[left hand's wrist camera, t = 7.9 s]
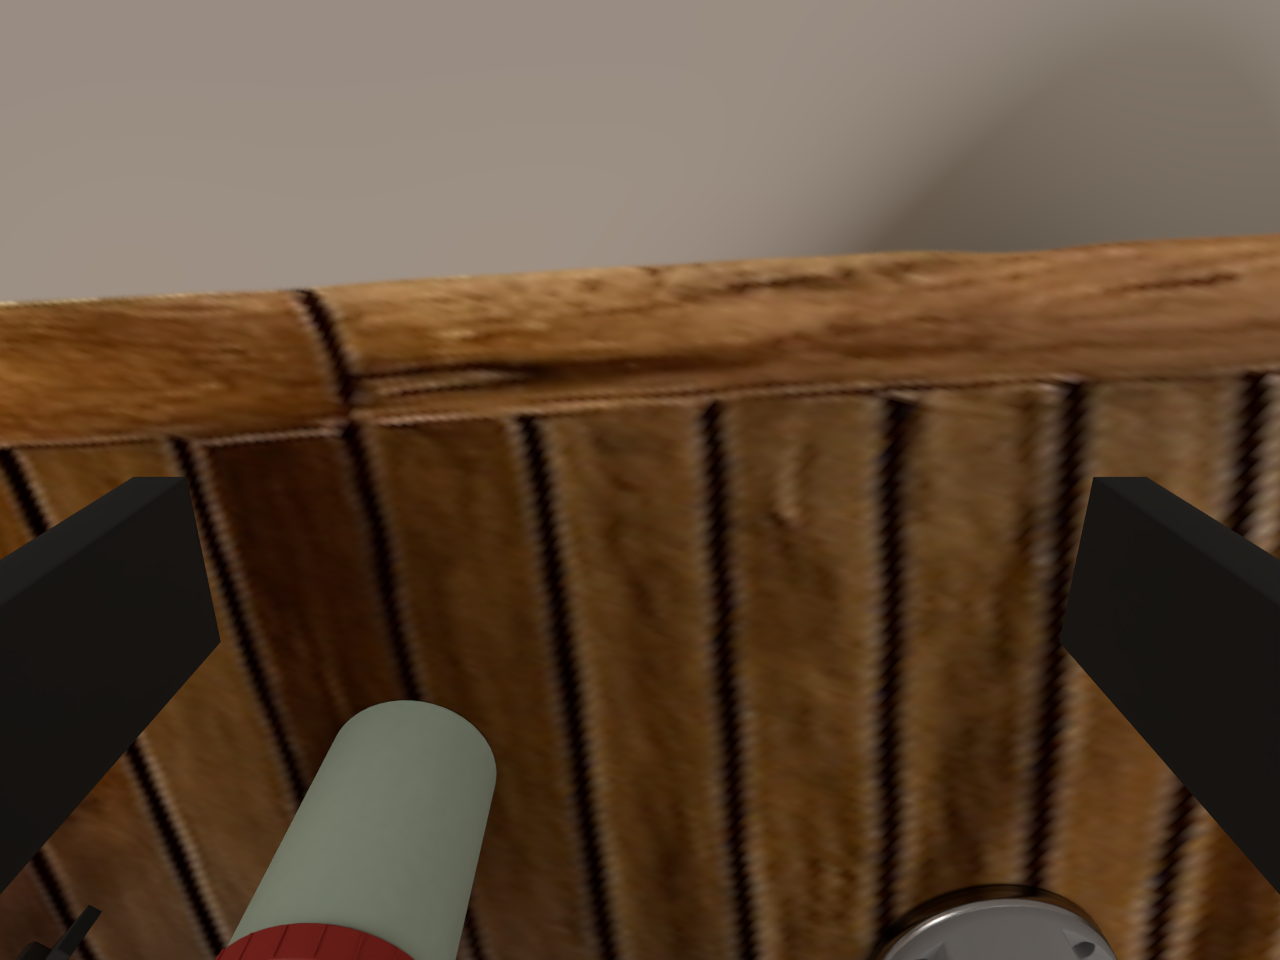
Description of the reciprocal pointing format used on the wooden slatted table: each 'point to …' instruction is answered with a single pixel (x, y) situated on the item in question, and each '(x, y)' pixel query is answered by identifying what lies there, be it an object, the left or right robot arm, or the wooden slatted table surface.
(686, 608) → the wooden slatted table surface
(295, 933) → the lid
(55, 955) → the right robot arm
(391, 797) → the jar
